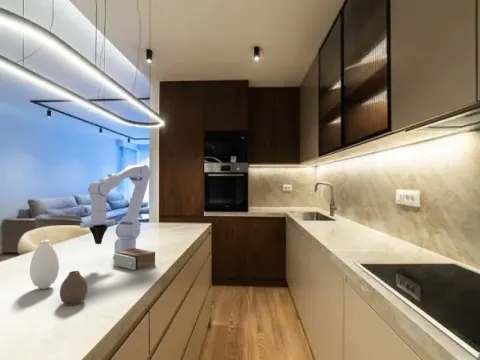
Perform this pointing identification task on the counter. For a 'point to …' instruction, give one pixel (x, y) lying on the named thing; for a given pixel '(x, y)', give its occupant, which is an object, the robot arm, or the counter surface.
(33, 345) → the counter surface
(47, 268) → the white tall ovoid
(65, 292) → the vase
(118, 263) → the door
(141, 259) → the brown wooden box
